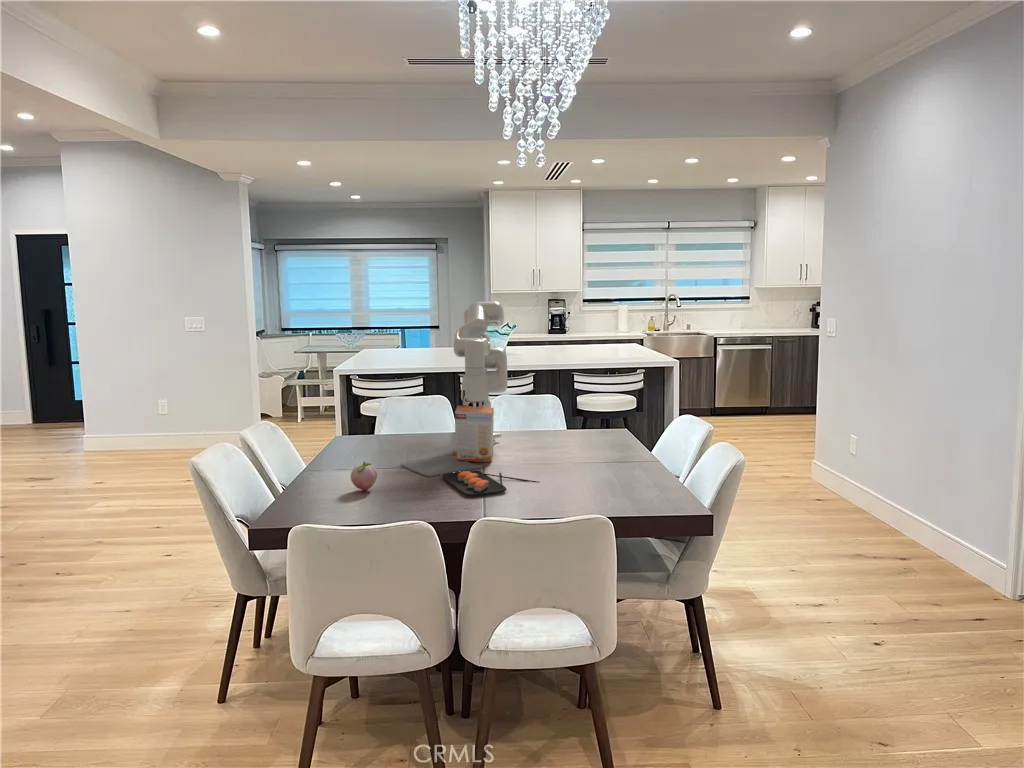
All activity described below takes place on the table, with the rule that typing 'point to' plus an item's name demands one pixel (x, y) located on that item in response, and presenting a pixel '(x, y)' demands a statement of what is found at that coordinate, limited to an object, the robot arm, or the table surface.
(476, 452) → the cracker box
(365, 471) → the decorative fruit
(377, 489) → the table surface
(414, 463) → the mat
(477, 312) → the robot arm
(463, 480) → the sushi plate
